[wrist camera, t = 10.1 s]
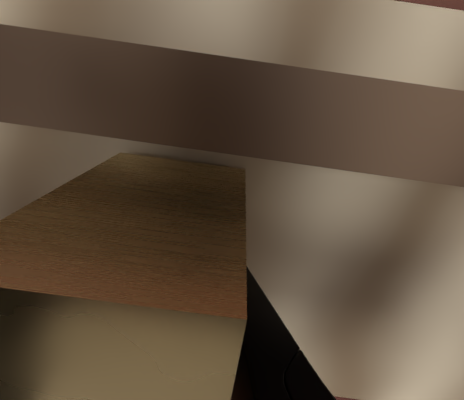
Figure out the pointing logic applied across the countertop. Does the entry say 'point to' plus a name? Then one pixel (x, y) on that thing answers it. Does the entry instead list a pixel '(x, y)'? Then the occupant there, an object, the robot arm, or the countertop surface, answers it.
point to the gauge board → (301, 213)
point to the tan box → (126, 284)
